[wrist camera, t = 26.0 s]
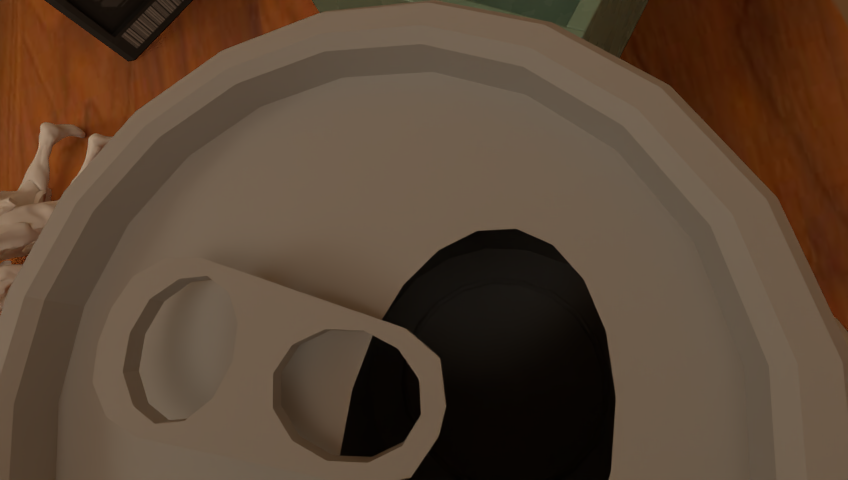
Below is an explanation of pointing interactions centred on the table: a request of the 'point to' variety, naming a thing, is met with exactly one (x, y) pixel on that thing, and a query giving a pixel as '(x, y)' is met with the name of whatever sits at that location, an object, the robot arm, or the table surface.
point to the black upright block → (122, 21)
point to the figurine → (34, 201)
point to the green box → (547, 15)
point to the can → (419, 276)
